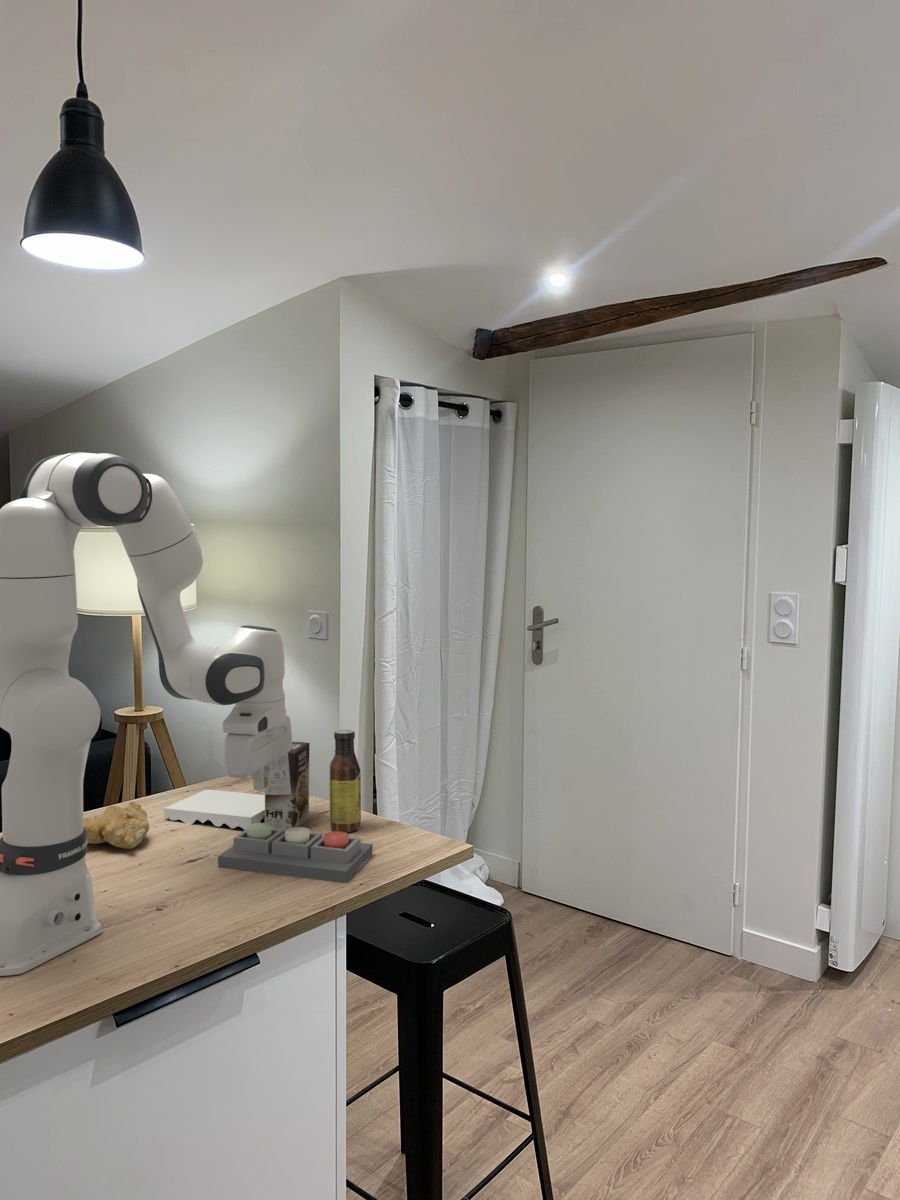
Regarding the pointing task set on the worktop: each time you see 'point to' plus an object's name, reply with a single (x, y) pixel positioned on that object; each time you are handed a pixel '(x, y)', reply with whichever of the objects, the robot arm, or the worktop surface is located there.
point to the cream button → (297, 835)
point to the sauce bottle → (345, 784)
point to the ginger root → (118, 826)
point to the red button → (336, 839)
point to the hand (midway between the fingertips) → (261, 788)
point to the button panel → (296, 856)
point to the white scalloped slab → (219, 808)
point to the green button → (259, 831)
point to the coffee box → (288, 789)
